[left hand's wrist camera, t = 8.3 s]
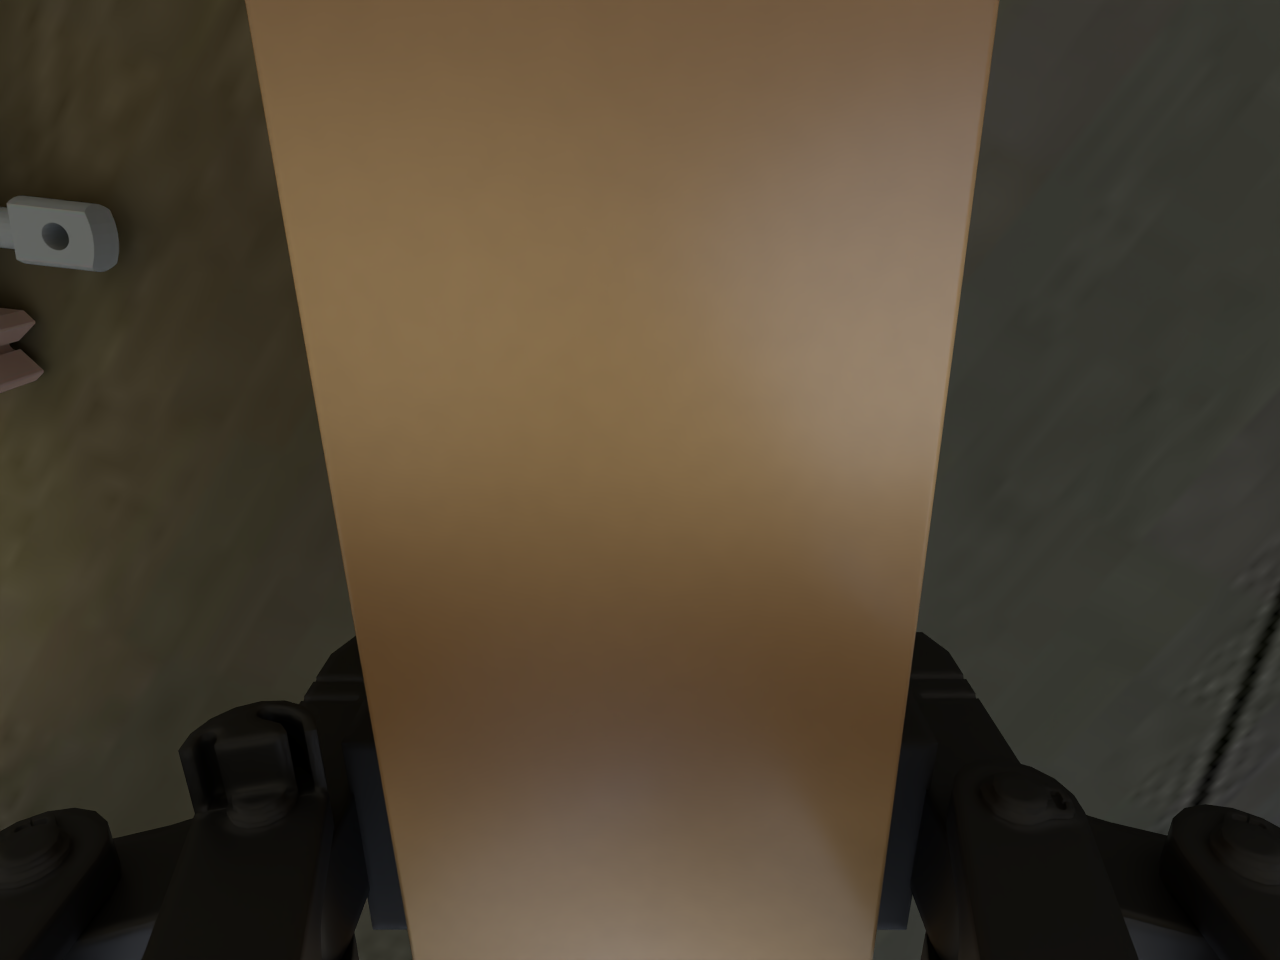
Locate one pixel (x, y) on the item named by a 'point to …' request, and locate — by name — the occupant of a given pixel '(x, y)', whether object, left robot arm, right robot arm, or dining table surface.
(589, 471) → the beam
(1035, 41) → the dining table surface
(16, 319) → the clamp
